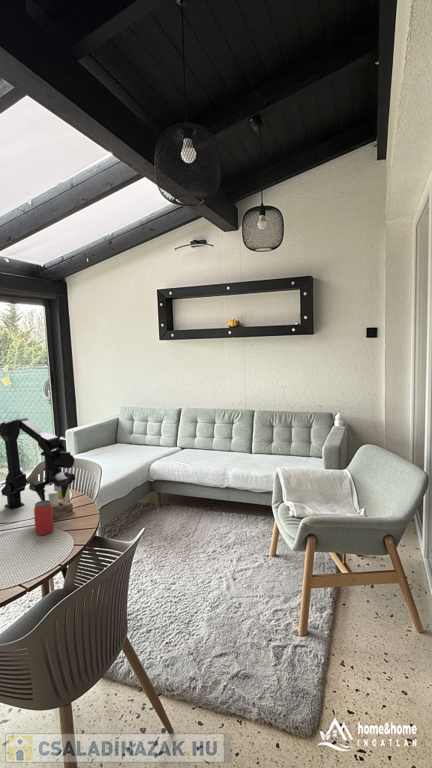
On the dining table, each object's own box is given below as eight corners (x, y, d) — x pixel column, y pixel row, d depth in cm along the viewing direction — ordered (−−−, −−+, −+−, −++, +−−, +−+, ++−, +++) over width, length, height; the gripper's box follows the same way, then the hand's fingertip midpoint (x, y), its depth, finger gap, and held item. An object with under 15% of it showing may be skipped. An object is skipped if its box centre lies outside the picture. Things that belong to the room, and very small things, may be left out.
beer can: (47, 536, 160) (45, 506, 159) (32, 535, 162) (30, 505, 160) (56, 529, 167) (55, 500, 165) (42, 527, 168) (40, 499, 167)
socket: (34, 515, 180) (33, 506, 180) (59, 506, 190) (59, 497, 189) (49, 522, 173) (48, 512, 173) (74, 512, 182) (74, 503, 182)
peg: (52, 515, 179) (51, 495, 178) (47, 513, 181) (46, 493, 180) (61, 512, 182) (60, 492, 181) (56, 510, 184) (55, 490, 183)
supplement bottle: (64, 496, 202) (63, 471, 200) (72, 499, 198) (71, 473, 196) (52, 501, 196) (50, 475, 195) (60, 504, 192) (58, 477, 191)
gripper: (41, 474, 167) (43, 512, 168) (81, 463, 181) (83, 498, 183) (27, 469, 174) (29, 505, 175) (67, 459, 188) (69, 492, 190)
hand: (54, 500), depth 181 cm, fingers open, 9 cm apart
